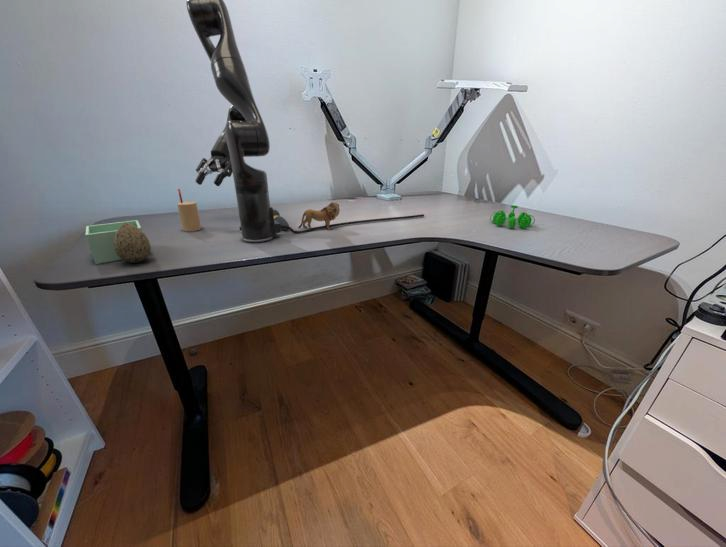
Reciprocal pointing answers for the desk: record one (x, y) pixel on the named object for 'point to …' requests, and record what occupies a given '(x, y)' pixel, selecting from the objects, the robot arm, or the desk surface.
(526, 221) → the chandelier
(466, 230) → the desk surface
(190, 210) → the paper cup
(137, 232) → the decorative egg
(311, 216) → the lion figurine
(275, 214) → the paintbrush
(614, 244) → the desk surface
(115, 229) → the bin
